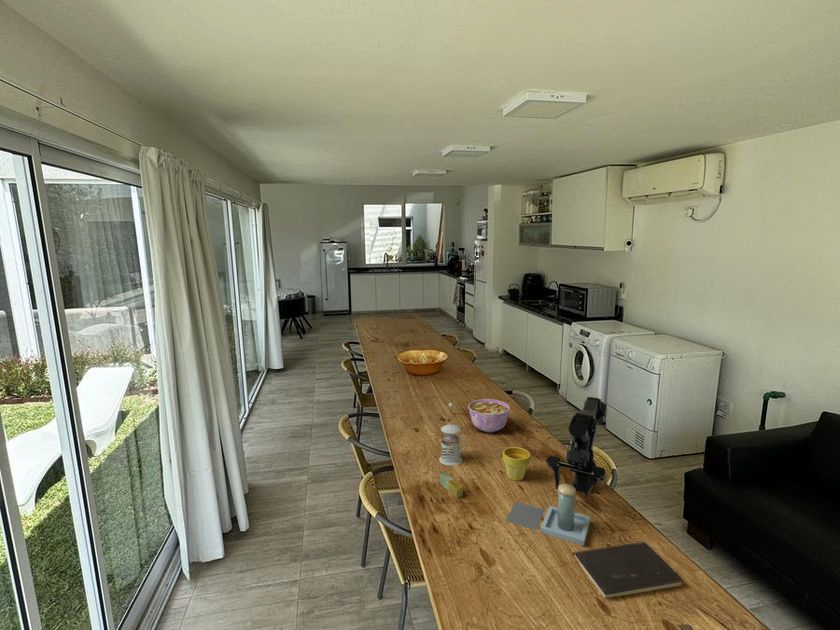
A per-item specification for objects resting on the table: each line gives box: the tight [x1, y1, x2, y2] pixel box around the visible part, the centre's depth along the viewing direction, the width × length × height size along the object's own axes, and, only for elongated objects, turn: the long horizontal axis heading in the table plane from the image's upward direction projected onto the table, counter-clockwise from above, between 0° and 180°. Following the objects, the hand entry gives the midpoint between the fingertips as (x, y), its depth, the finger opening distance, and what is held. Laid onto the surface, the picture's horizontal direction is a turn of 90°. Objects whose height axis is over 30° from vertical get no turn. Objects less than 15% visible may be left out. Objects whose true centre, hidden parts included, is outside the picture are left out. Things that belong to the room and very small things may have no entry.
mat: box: [505, 501, 545, 531], centre depth 147 cm, size 12×10×1 cm
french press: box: [438, 402, 467, 467], centre depth 182 cm, size 10×12×25 cm
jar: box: [557, 483, 577, 531], centre depth 140 cm, size 5×5×13 cm
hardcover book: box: [572, 541, 684, 599], centre depth 123 cm, size 16×23×2 cm
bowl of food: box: [468, 398, 511, 433], centre depth 213 cm, size 20×20×12 cm
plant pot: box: [502, 446, 531, 482], centre depth 171 cm, size 10×10×10 cm
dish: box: [539, 505, 591, 548], centre depth 141 cm, size 13×13×2 cm
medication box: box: [439, 471, 464, 499], centre depth 163 cm, size 12×3×4 cm, turn 31°
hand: (571, 493), depth 145 cm, fingers open, 9 cm apart
